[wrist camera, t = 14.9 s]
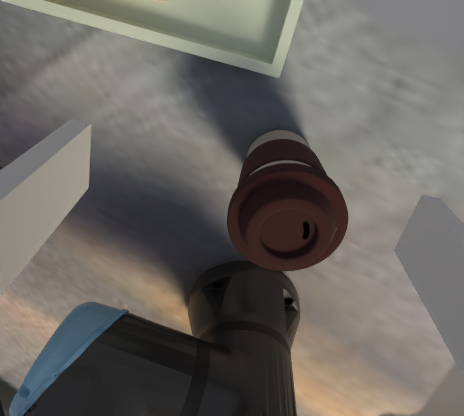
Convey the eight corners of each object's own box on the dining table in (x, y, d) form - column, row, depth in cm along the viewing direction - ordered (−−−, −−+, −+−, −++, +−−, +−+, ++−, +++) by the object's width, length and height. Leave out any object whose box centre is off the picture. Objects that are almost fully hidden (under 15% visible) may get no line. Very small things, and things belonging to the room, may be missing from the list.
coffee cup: (218, 173, 46) (204, 252, 33) (264, 98, 41) (268, 155, 28) (291, 212, 48) (304, 300, 35) (342, 145, 43) (379, 218, 30)
